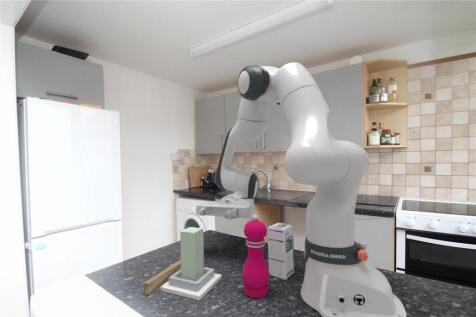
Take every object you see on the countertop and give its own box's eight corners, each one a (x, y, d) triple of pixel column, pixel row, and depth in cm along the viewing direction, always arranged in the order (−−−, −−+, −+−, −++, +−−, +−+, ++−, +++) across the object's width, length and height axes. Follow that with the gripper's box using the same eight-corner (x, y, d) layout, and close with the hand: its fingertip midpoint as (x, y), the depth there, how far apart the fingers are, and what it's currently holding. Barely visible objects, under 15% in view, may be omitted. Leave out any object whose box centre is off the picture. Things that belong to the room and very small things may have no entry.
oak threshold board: (183, 270, 75) (183, 260, 75) (148, 295, 61) (148, 283, 61) (179, 269, 76) (179, 260, 76) (143, 294, 62) (143, 282, 62)
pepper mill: (268, 300, 59) (267, 218, 59) (239, 297, 60) (238, 217, 60) (270, 285, 66) (270, 211, 66) (244, 283, 67) (243, 211, 67)
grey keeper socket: (221, 278, 70) (221, 267, 70) (199, 300, 59) (199, 288, 59) (186, 271, 75) (186, 261, 75) (160, 290, 64) (160, 279, 64)
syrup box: (286, 280, 68) (285, 229, 68) (268, 274, 72) (267, 225, 72) (294, 272, 73) (294, 224, 73) (277, 267, 77) (276, 221, 77)
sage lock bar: (203, 278, 68) (203, 228, 68) (195, 285, 64) (194, 233, 64) (190, 275, 70) (189, 226, 70) (180, 282, 66) (180, 231, 66)
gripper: (206, 197, 95) (186, 203, 82) (256, 198, 87) (242, 205, 74) (207, 213, 95) (186, 221, 82) (257, 216, 87) (242, 226, 74)
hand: (213, 213), depth 78 cm, fingers open, 8 cm apart
